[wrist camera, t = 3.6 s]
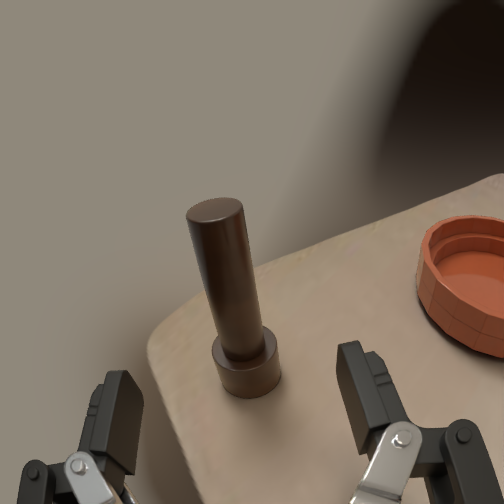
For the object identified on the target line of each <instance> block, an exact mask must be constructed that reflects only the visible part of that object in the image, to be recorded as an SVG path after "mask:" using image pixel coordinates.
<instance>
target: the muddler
mask: <svg viewBox="0 0 504 504" xmlns="http://www.w3.org/2000/svg"><path fill="white" fill-rule="evenodd" d="M186 220H187V223H188V227H189V231H190V235H191V239H192V243H193V247H194V251H195V254H196V258H197V262H198V265H199V269H200V273H201V277H202V280H203V284H204V287H205V291H206V295H207V298H208V302H209V305H210V309H211V312H212V316H213V319H214V322H215V326H216V329H217V333H218V336H217V337H216V339H215V341H214V343H213V346H212V356H213V359H214V362H215V364H216V367H217V370H218V373H219V376H220V378H221V381H222V384H223V386H224V387H225V389H226V390H227V391H228V392H230V393H231V394H233V395H235V396H237V397H241V398H255V397H259V396H262V395H264V394H266V393H268V392H269V391H271V390H272V389H273V388H274V387H275V386H276V384H277V383H278V381H279V379H280V373H281V371H280V363H279V355H278V347H277V340H276V337H275V335H274V334H273V333H272V332H271V331H270V330H269V329H268V328H266V327H265V326H262V320H261V314H260V308H259V302H258V296H257V290H256V284H255V277H254V271H253V265H252V260H251V254H250V247H249V241H248V235H247V229H246V223H245V216H244V210H243V205H242V203H241V202H240V201H239V200H237V199H233V198H215V199H210V200H207V201H203V202H201V203H198V204H196V205H194V206H193V207H191V208H190V209H189V210H188V211H187V213H186Z"/></svg>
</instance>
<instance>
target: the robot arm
mask: <svg viewBox="0 0 504 504" xmlns="http://www.w3.org/2000/svg"><path fill="white" fill-rule="evenodd" d="M336 375H337V381H338V385H339V388H340V391H341V395H342V398H343V401H344V405H345V408H346V411H347V415H348V418H349V422H350V425H351V428H352V432H353V435H354V439H355V442H356V446H357V450H358V453H359V455H362V454H366V453H367V455H368V459H369V464H368V466H367V468H366V470H365V472H364V474H363V476H362V478H361V480H360V482H359V484H358V486H357V488H356V490H355V492H354V494H353V495H352V497H351V499H350V501H349V503H348V504H401V496H402V493H403V491H404V489H405V486H406V484H407V481H408V479H409V478H418V477H424V481H425V485H426V488H427V492H428V496H429V500H430V504H504V499H503V496H502V492H501V489H500V486H499V483H498V480H497V477H496V474H495V471H494V468H493V465H492V462H491V459H490V457H489V454H488V451H487V449H486V446H485V443H484V441H483V438H482V436H481V433H480V431H479V429H478V427H477V425H476V424H475V423H473V422H472V421H470V420H466V419H460V420H456V421H454V422H453V423H451V424H450V425H449V427H446V428H422V427H419V426H417V425H415V424H414V423H412V422H411V421H410V419H409V418H408V416H407V415H406V412H405V410H404V407H403V405H402V402H401V400H400V397H399V395H398V393H397V390H396V388H395V386H394V383H393V382H392V379H391V376H390V374H389V373H388V369H387V367H386V365H385V363H384V360H383V359H382V358H381V357H379V356H378V355H377V354H376V353H375V352H374V351H372V352H368V353H364V351H363V349H362V346H361V344H360V342H359V341H358V340H357V341H352V342H347V343H343V344H339V345H338V351H337V363H336ZM143 407H144V400H143V395H142V392H141V390H140V389H139V387H138V386H137V384H136V383H135V381H134V380H133V378H132V377H131V375H130V374H129V372H128V371H127V370H118V371H108V372H107V374H106V378H105V381H104V384H99V385H98V386H97V388H96V389H95V390H94V392H93V394H92V396H91V399H90V403H89V408H88V411H87V417H86V418H85V422H84V427H83V431H82V435H81V439H80V443H79V448H78V450H77V452H75V453H73V454H71V455H70V456H69V457H68V458H67V460H66V461H65V462H63V463H57V464H52V465H46V464H44V463H43V462H42V461H40V460H31V461H29V462H28V463H27V464H26V465H25V466H24V468H23V471H22V475H21V481H20V486H19V492H18V498H17V504H52V503H53V504H139V503H138V501H137V500H136V498H135V497H134V495H133V494H132V492H131V491H130V489H129V488H128V486H127V485H126V483H125V482H124V479H125V475H135V466H136V458H137V450H138V442H139V435H140V427H141V420H142V414H143Z"/></svg>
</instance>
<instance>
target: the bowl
mask: <svg viewBox="0 0 504 504" xmlns="http://www.w3.org/2000/svg"><path fill="white" fill-rule="evenodd" d="M416 282H417V293H418V296H419V298H420V300H421V302H422V304H423V306H424V307H425V309H426V311H427V313H428V315H429V316H430V317H431V318H432V319H433V320H434V321H435V322H436V323H437V324H438V325H439V326H440V327H441V328H442V329H443V330H444V331H445V332H446V333H447V334H448V335H450V336H451V337H453V338H455V339H456V340H458V341H460V342H461V343H463V344H465V345H466V346H468V347H470V348H471V349H473V350H476V351H479V352H483V353H486V354H490V355H493V356H496V357H501V358H504V220H501V219H498V218H494V217H486V216H477V215H467V216H455V217H451V218H448V219H445V220H442V221H439V222H437V223H436V224H435V225H433V226H432V227H431V228H430V229H428V230H427V231H426V234H425V236H424V239H423V241H422V244H421V250H420V256H419V262H418V268H417V273H416Z"/></svg>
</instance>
